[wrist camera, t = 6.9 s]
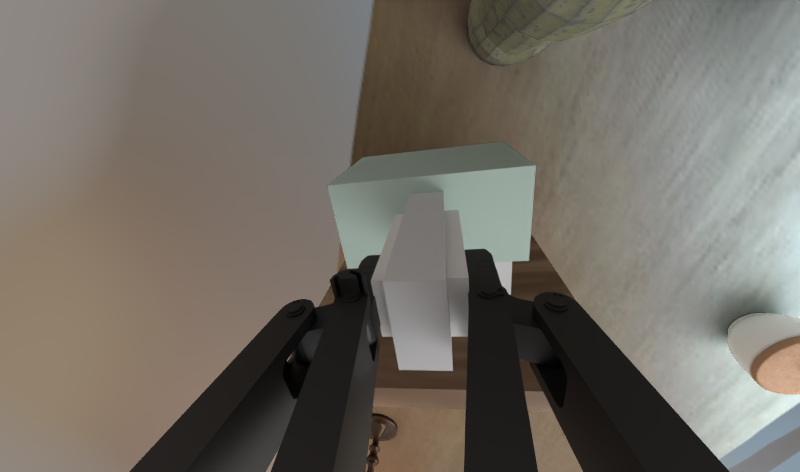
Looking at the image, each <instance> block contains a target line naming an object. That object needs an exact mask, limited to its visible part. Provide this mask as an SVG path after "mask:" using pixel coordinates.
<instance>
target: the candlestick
mask: <svg viewBox="0 0 800 472" xmlns="http://www.w3.org/2000/svg"><path fill="white" fill-rule="evenodd" d="M396 433H397V425H396V423H395V422H394V421H393V420H392V419H391V418H389V417H387V416H384V415H381V414H372V417H371V426H370V434H369V438H371V439H373V443H372V445H370V447H369V450H370V451H371V452H370V455H368V457H367V460H366V463H367V464H368V470H367V472H374V466H376V465H378V463H379V460H378V457H377V452H379V451H380V447H379V446H378V443H379V441H386V440H390V439H392V438H394V437H395V436H396Z"/></svg>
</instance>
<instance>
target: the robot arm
mask: <svg viewBox="0 0 800 472" xmlns="http://www.w3.org/2000/svg"><path fill="white" fill-rule="evenodd" d="M402 218H403V214H396V215H395V218H394V220H393V223H392V225H391V228H390V231H389V233H388V236H387V239H386V241H385V244H384V247H383V249H382V252H381V255H368V256H367V257H365V258H364V259H363V260H362V261H361V263H360V265H359V267H358V269H348V270H344V271H341V272H339V273H337V274H335V275H334V276H333V277H332V278H331V279H330V283H331V286H332V290H333V293H334V297H335V299H334V302H333V303H331V304H328V305H324V306H320V307H316V308H315V307H314V304H313V303H312V301H310V300H306V299H300V300H296V301H293V302H291V303H289V304H287V305H285V306H284V307H283V308H282V309H281V310H280V311H279V312H278V313H277V314H276V315H275V316H274V317H273V318H272V319H271V320H270V321H269V323H268V324H267V325H266V326H265V327H264V328H263V329H262V330H261V331H260V332H259V333H258V334H257V335H256V336H255V338H254V339H253V340H252V341H251V342H250V343H249V344H248V345H247V346H246V347H245V348H244V349H243V351H241V353H240V354H239V355H238V356H237V357H236V358H235V359H234V360H233V361H232V362H231V363H230V364H229V366H228V367H227V368H226V369H225V370H224V371H223V372H222V373H221V374H220V375H219V376H218V377H217V378H216V379H215V380H214V382H213V383H212V384H211V385H210V386H209V387H208V388H207V389H206V390H205V391H204V392H203V393H202V394H201V395H200V397H199V398H198V399H197V400H196V401H195V402H194V403H193V404H192V405H191V406H190V407H189V409H187V411H186V412H185V413H184V414H183V415H182V416H181V417H180V418H179V419H178V420H177V421H176V422H175V423H174V424H173V426H172V427H171V428H170V429H169V430H168V431H167V432H166V433H165V434H164V435H163V436H162V437H161V438H160V440H159V441H158V442H157V443H156V444H155V445H154V446H153V447H152V448H151V449H150V450H149V451H148V452H147V453H146V455H145V456H144V457H143V458H142V459H141V460H140V461H139V462H138V463H137V464H136V465H135V466H134V468H132V470H131V471H130V472H266V470H267V468H268V466H269V465H270V463H271V461H272V459H273V458H274V456H275V454H276V453H277V451H278V449H279V451H278V453H277V456H276V459H275V462H274V464H273V467H272V470H271V472H365V469H366V460H367V452H368V443H369V434H370V426H371V417H372V408H373V400H374V391H375V382H376V374H377V365H378V356H379V348H380V345H379V339H378V333H379V330H380V329H381V333H382V337H393V336H392V330H391V325H390V320H389V314H388V309H387V304H386V298H385V293H384V288H383V282H382V281H383V278H384V275H385V272H386V269H387V265H388V262H389V259H390V256H391V253H392V249H393V246H394V243H395V240H396V237H397V234H398V230H399V227H400V224H401V221H402ZM445 237H446V266H447V287H448V300H449V314H450V328H451V337H468V348H467V385H466V422H465V458H464V472H538V469H537V463H536V457H535V451H534V445H533V439H532V433H531V427H530V421H529V415H528V409H527V403H526V397H525V391H524V385H523V379H522V373H521V367H520V361H519V359H521V360H525V361H529V364H530V367H531V369H532V371H533V373H534V374H535V376H536V378H537V380H538V382H539V384H540V386H541V388H542V390H543V392H544V394H545V396H546V398H547V400H548V402H549V404H550V406H551V408H552V410H553V412H554V414H555V416H556V418H557V420H558V422H559V424H560V426H561V428H562V430H563V432H564V434H565V436H566V438H567V440H568V442H569V444H570V446H571V448H572V450H573V452H574V454H575V456H576V458H577V460H578V462H579V464H580V466H581V468H582V470H583V472H729V471H728V470H727V468H726V467H725V466H724V465H723V464H722V463H721V462H720V461H719V460H718V458H717V457H716V456H715V455H714V454H713V453H712V452H711V451H710V449H709V448H708V447H707V446H706V445H705V444H704V443H703V442H702V441H701V439H700V438H699V437H698V436H697V435H696V434H695V433H694V432H693V431H692V429H691V428H690V427H689V426H688V425H687V424H686V423H685V422H684V421H683V419H682V418H681V417H680V416H679V415H678V414H677V413H676V412H675V410H674V409H673V408H672V407H671V406H670V405H669V404H668V403H667V402H666V400H665V399H664V398H663V397H662V396H661V395H660V394H659V393H658V392H657V390H656V389H655V388H654V387H653V386H652V385H651V384H650V383H649V382H648V380H647V379H646V378H645V377H644V376H643V375H642V374H641V373H640V371H639V370H638V369H637V368H636V367H635V366H634V365H633V364H632V363H631V361H630V360H629V359H628V358H627V357H626V356H625V355H624V354H623V353H622V351H621V350H620V349H619V348H618V347H617V346H616V345H615V344H614V343H613V341H612V340H611V339H610V338H609V337H608V336H607V335H606V334H605V332H604V331H603V330H602V329H601V328H600V327H599V326H598V325H597V324H596V322H595V321H594V320H593V319H592V318H591V317H590V316H589V315H588V314H587V312H586V311H585V310H584V309H583V308H582V307H581V306H580V305H579V304H578V302H576V301H575V300H574V299H573V298H571V297H569V296H567V295H565V294H562V293H557V292H544V293H540V294H538V295H537V296H535V298H534V301H529V300H523V299H519V298H516V297H513V296H511V295H510V294H508V292H507V290H506V289H505V288H504V287H503V286H502V285H501V282H500V279H499V276H498V272H497V269H496V267H495V263H494V260H493V257H492V254H491V253H490V252H489V251H487V250H486V249H467V250H464V243H463V237H462V230H461V224H460V217H459V211H458V210H448V211H445ZM291 354H292V355H293V357H292V358H291V359H290V360H289V361H288V362H287V359H288V358H289V356H290V355H291ZM279 447H280V448H279Z"/></svg>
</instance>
